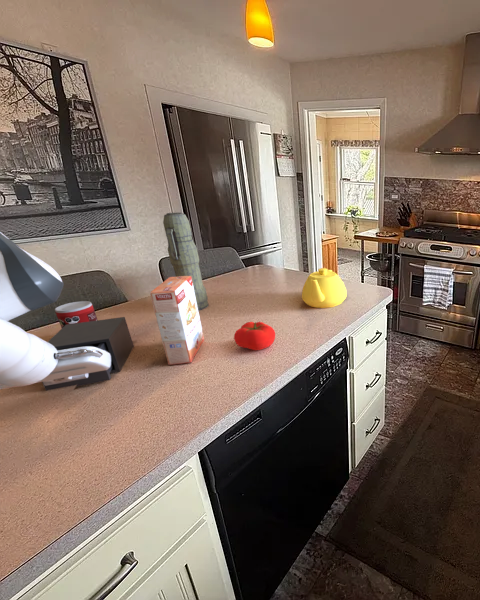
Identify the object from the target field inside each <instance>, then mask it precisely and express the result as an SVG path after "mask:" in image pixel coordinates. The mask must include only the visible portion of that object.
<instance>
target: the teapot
mask: <svg viewBox="0 0 480 600" xmlns="http://www.w3.org/2000/svg"><path fill="white" fill-rule="evenodd" d="M347 292H348V291H347V288H346V285H345V283H344V281H343V280H342V279H341V277H340V276H339V274H337V272H335V271H333V270H332V269H328V268H326V267H322V268H321V267H319V268H318V270H316V271H313V272H311V273H310V274H309V275H308V276H307V278H306V280H305V282H304V284H303V287H302V291H301V299H302V301H303V302H304V303H305V304H306V305H307V306H309V307H312V308H316V309H317V308H318V309H328V308H333V307H338V306H339V305H341V304H342V303H343V302H344V301H345V300H346V298H347V295H348V293H347Z"/></svg>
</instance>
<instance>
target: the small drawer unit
mask: <svg viewBox="0 0 480 600" xmlns="http://www.w3.org/2000/svg"><path fill="white" fill-rule="evenodd" d="M47 342H48V343H50V344H52V345H53V346H54V347H55V348H56V349H64V348H70V347H77V346H83V345H89V344H96V343H102V342H106V344H107V347H108V350H109V353H110V355H111V359H112V362H113V364H114V367H113V368H112V370H111V372H110V374H115V373H119V372H121V371H122V369H123V368H124V366H125V363H126V362H127V359H128V358H129V357H130V355H131V353H132V351H133V349H134V347H135V345H134V342H133V338H132V336H131V332H130V329H129V327H128V323H127V320H126V317H125V316H121V317H113V318H107V319H106V318H105V319H97V321H90V322H82V323H75V324H67V325H65V326H64V327H63V328H61V329H60V330H59V331H58V332H56V334H54V335H53V336H52V337H51V338H50V339H49V340H48V341H47Z"/></svg>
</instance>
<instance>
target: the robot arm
mask: <svg viewBox="0 0 480 600" xmlns="http://www.w3.org/2000/svg"><path fill="white" fill-rule="evenodd" d="M63 289H64V281H63V279H62V278H61V276H60V274H59V273H58V272H57V270H55V269H54V268H53V267H52V266H51V265H50V264H48V263H47V262H45V261H43V260H42V259H41V258H39V257H37V256H35V255H34V254H32V253H30V252H28V251H26V250H25V249H23V248H22V247H21V246H19V245H18V244H16V243H15V242H14V241H13V240H12V239H10V238H9V237H8V236H7V235H5V234H3V232H1V231H0V390H5V389H11V388H15V387H17V388H18V387H26V386H30V385H33V384H37V383H42V382H49V381H50V382H53V383H55V382H60V381H65V380H71V379H72V376H76V375H82V374H87V373H93V372H98V371H104V370H107V369H109V368H110V366H111V355H110V353H108V352H107V351H104V350H102V349H99V348H96V347H91V346H85V347H77V348H70V349H64V350H58V351H57V349H56V348H55V347H54V346H53V345H52V344H50V343H48V341H46V340H45V339H43V338H41V337H39V336H37V335H35V334H33V333H31V332H30V333H29V332H26V331H25V330H24V329H23V328H21V327H20V326H18V325H16V324H14V323H12V322H10V321H12V320H13V319H15V318H19V317H20V316H22V315H24V314H26V313H28V312H31V311H35V310H38V309H40V308H44V307H46V306H48V305H52V304H53V303H56V302H57V301H58V299H59V298H60V296H61V294H62V292H63Z"/></svg>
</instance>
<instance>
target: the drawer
mask: <svg viewBox="0 0 480 600" xmlns="http://www.w3.org/2000/svg"><path fill="white" fill-rule="evenodd" d="M85 346H91V347H96V348H99V349H102V350H104V351H107V352H108V353H109V350H108V347H107V344H106V342H102V343H96V344H89V345H83V346H77V347H85ZM77 347H70V348H77ZM70 348H64V349H70ZM64 349H57V351H58V350H64ZM113 367H114V364H113V362H112V359H111V366H110V368H109V369H107V370H104V371H98V372H93V373H87V374H82V375H76V376H72V379H71V380H65V381H60V382H55V383H53V382H50V381H49V382H41V383H42V386H43V387H44V388H43V389H44V390H45V391H51V390H52V391H53V390H57V389H63V388H68V387H73V386H75V387H81V386H87V385H92V384H96V383H102V382H107V381H110V380H111V379H112V376H111V373H110V372H111V370H112V368H113Z"/></svg>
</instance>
